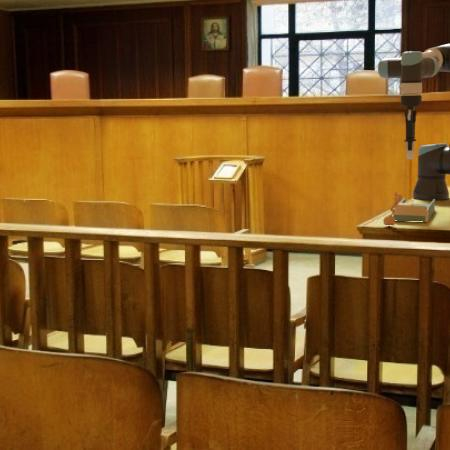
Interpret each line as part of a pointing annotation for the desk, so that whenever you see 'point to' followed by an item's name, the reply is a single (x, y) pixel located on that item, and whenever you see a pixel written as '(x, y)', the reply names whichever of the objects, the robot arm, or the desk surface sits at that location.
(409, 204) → the birch block
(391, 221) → the figurine
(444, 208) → the desk surface
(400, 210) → the box
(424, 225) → the desk surface
